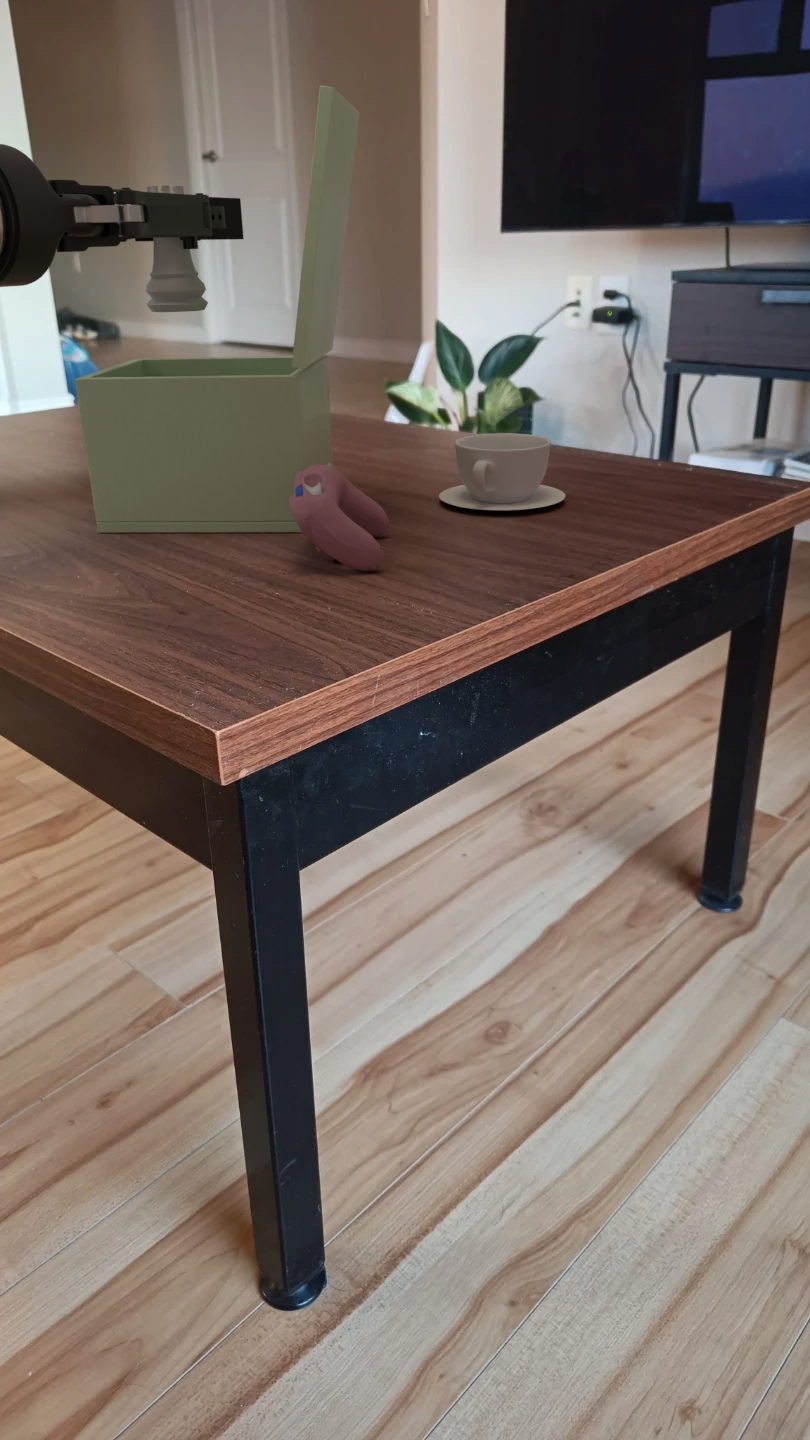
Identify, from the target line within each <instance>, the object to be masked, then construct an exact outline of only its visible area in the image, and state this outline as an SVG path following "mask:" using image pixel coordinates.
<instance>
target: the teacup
mask: <svg viewBox="0 0 810 1440" xmlns="http://www.w3.org/2000/svg"><path fill="white" fill-rule="evenodd" d="M551 446H552V441H551V439H549V438H547V437H545V436H542V435H541V436H540V435H535V434H528V433H514V432H513V433H511V432H496V433H480V434H474V435H468V436H463V437H460V438H457V440H455V442H454V448H455V455H456V464H457V470H458V474H459V478H460V479H461V481H462V484H461V485H457V486H451V487H449V488H447V489H444V490H442V491H441V492H440V493H439V494H438V498H439V499H440V501H442V502H444V503H446V504H448V505H450V506H451V505H452V506H454V507H455V506H456V507H458V508H463V509H471V510H478V511H479V510H481V511H522V510H523V511H524V510H532V509H538V508H539V509H540V508H544V507H550V506H552V505H555V504H558V503H561V502H562V501H563V500H565V498H566V493H564V491H563V490H560V489H558V488H556V487H553V486H549V485H546V484H545V485H544V484H542V482H543V480H544V478H545V477H546V473H547V469H548V465H549V458H550V452H551Z"/></svg>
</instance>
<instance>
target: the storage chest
mask: <svg viewBox="0 0 810 1440" xmlns="http://www.w3.org/2000/svg"><path fill="white" fill-rule="evenodd" d="M292 359H293V355H282V356H281V355H277V356H276V355H275V356H271V355H270V356H213V357H211V356H209V357H208V356H207V357H205V356H204V357H203V356H202V357H145V358H143V357H141V358H137V357H136V358H134V359H130V360H127V361H125V362H121V363H119V364H116V365H113V366H110V367H106V368H104V369H100V370H98V371H95V372H92V373H89V374H86V375H83V376H80V377H77V378H75V379H74V382H75V383H74V384H75V389H76V396H77V403H78V409H79V410H78V411H79V417H80V421H81V430H82V435H83V436H82V437H83V444H84V449H85V456H86V464H87V469H88V475H89V483H90V490H91V495H92V502H93V509H94V515H95V521H96V530H97V533H99V534H110V533H111V534H115V533H116V534H120V533H121V534H125V533H126V534H129V533H130V534H133V533H134V534H135V533H136V534H138V533H139V534H140V533H141V534H143V533H145V534H146V533H148V534H150V533H151V534H152V533H153V534H156V533H158V534H161V533H164V534H165V533H167V534H168V533H169V534H171V533H172V534H173V533H179V534H180V533H182V534H183V533H185V534H186V533H192V534H194V533H199V534H200V533H202V534H203V533H204V534H205V533H210V534H211V533H216V534H217V533H220V534H221V533H227V534H228V533H241V534H243V533H244V534H245V533H252V534H253V533H302V531H301V529H300V528H299V526H298V524H297V522H296V520H295V518H294V516H293V514H292V511H291V508H290V504H289V498H290V497H291V496H292V495H293V494H294V481H295V477H296V475H297V474H298V473H299V472H300V471H302V470H304V469H306V468H308V467H310V466H312V465H316V464H321V465H328V463H331V465H332V467H333V468H334V462H333V461H334V460H333V459H334V457H333V444H332V443H333V442H332V441H333V440H332V439H333V438H332V421H331V419H332V418H331V401H330V383H329V381H330V380H329V361H328V360H329V359H328V355H324V356H322V357H321V358H319V359H318V360H316V361H315V362H313V363H312V364H311V365H309V366H308V367H306V368H305V369H298V368H293V367H292Z"/></svg>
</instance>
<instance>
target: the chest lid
mask: <svg viewBox="0 0 810 1440" xmlns="http://www.w3.org/2000/svg"><path fill="white" fill-rule="evenodd" d="M360 115H361V113H360V111H358V110H357V108H355V107H354V105H352V104H351V103H350V102H349V101H348V100H347V99H346V98H345V97H344V96H343V95H341V93H340V92H339V91H338V90H337V89H335V87H333V86H327V85H319V91H318V102H317V110H316V120H315V121H316V122H315V132H314V139H313V140H314V141H313V151H312V159H311V160H312V161H311V170H310V171H311V172H310V173H311V174H310V181H309V191H308V201H307V211H306V221H305V231H304V239H303V240H304V241H303V251H302V261H301V271H300V280H299V291H298V301H297V309H296V310H297V311H296V321H295V329H294V339H293V349H292V356H293V359H292V367H293V368H298V369H305V368H306V367H308V366H309V365H311V364H312V363H313V362H315V361H316V360H318V359H319V358H321V357H322V356H326V355H327V354H329V352H331V351H332V350H333V346H334V339H335V331H336V330H335V329H336V321H337V315H338V314H337V313H338V304H339V295H340V288H341V287H340V286H341V278H342V269H343V261H344V252H345V245H346V244H345V242H346V235H347V227H348V220H349V219H348V217H349V210H350V200H351V191H352V183H353V176H354V175H353V174H354V167H355V157H356V151H357V150H356V149H357V140H358V133H359V125H360V124H359V123H360Z"/></svg>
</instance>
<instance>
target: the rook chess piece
mask: <svg viewBox="0 0 810 1440" xmlns="http://www.w3.org/2000/svg"><path fill="white" fill-rule="evenodd" d="M171 188H172V190H171V189H170V185H161V187H160V190H159V188H158V185H151V186H150V185H149V186H146V192H155V193H172V194H185V190H184V189H185V188H184V186H183V185H182V186H181V185H173V187H171ZM152 242H153V253H152V254H153V257H152V259H153V260H152V261H153V262H152V270H151V272H150V273H149V276H150V279H149V280H148V282H147V284H146V286H145V287H146V288H145V292H146V293H147V294H148V296H149V297H150V299H149V301H147V303H145V304H146V307H148V309H149V310H150V312H152V313H182V312H183V313H186V312H199V311H200V312H201V311H205V310H206V308H207V306H208V304H209V302H208V301H207V300H206V299H205V298H203V296H204V294H205V292H206V291H207V288H206V284H205V283H204V282H203V281H202V280H201V278H200V277H198V276H199V272H198V271H197V270H196V267H195V265H194V262H193V257H192V254H191V253H192V252H191V249H183V240H180V238H179V237H161V238H153V241H152Z"/></svg>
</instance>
